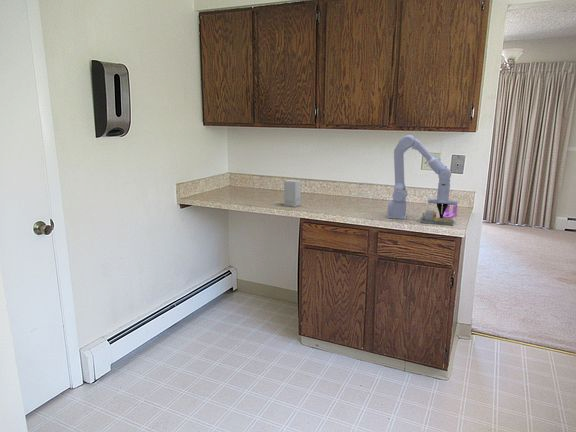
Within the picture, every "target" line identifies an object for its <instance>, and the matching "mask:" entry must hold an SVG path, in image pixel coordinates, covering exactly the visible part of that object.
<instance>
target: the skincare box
mask: <svg viewBox="0 0 576 432" xmlns="http://www.w3.org/2000/svg"><path fill="white" fill-rule="evenodd" d="M283 193H284V195H283V197H284V199H283V200H284V202H283V203H284V207H290V206H291V207H290V208H297V206H298V207H300V206H302V202H301V201H302V200H301V199H302V198H301V196H302V195H301V193H302V192H301V180H297V179H287V180H283Z"/></svg>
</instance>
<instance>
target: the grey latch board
mask: <svg viewBox="0 0 576 432" xmlns="http://www.w3.org/2000/svg"><path fill="white" fill-rule="evenodd" d="M421 218H423V217H422V216H421ZM444 218H447V217H444ZM419 223H420V224H428V225H436V226H437V225H439V226H448V225H449V226H450V227H454V220H453V221H452V223H451V222H440V221H425V220H421V219H420V221H419Z"/></svg>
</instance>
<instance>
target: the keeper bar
mask: <svg viewBox="0 0 576 432" xmlns="http://www.w3.org/2000/svg"><path fill="white" fill-rule="evenodd" d="M453 219H454V218H452V219H447V218H440V217H436V218H435V217H434V221H440V222H451V223H452V221H453Z"/></svg>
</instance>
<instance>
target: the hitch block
mask: <svg viewBox="0 0 576 432" xmlns="http://www.w3.org/2000/svg"><path fill="white" fill-rule="evenodd" d="M434 212H435V210H430V209H426V210H425V212H424V213H425V218H422V217H420V218H421V219H420V221H421V220H425V221H434V219H433V215H434Z"/></svg>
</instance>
